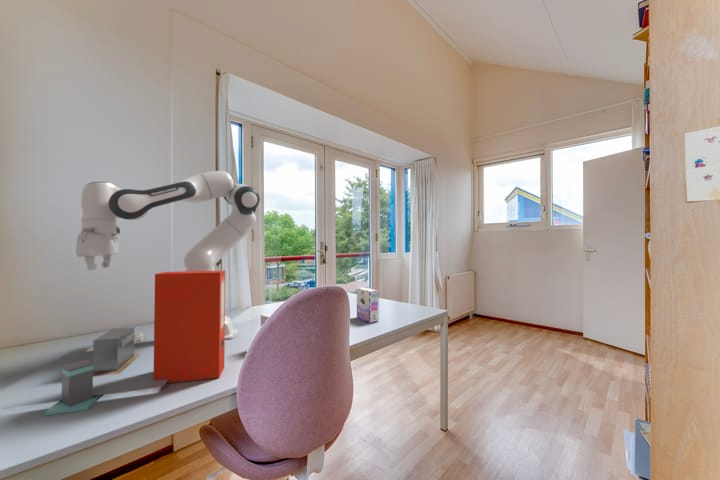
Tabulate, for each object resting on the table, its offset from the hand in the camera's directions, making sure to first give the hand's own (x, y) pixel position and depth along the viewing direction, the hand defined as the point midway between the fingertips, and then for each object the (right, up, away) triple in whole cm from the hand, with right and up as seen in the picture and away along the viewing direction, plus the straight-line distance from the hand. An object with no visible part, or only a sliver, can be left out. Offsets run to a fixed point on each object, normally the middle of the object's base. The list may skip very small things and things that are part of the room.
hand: (99, 268), depth 99 cm
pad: (+18, -32, -26) cm, 45 cm away
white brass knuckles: (-3, -33, +11) cm, 35 cm away
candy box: (+94, -33, +54) cm, 114 cm away
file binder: (+38, -32, -11) cm, 51 cm away
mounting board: (+10, -32, -7) cm, 34 cm away
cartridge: (+18, -31, -26) cm, 44 cm away
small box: (+56, -33, +13) cm, 67 cm away
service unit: (+10, -30, -7) cm, 33 cm away
